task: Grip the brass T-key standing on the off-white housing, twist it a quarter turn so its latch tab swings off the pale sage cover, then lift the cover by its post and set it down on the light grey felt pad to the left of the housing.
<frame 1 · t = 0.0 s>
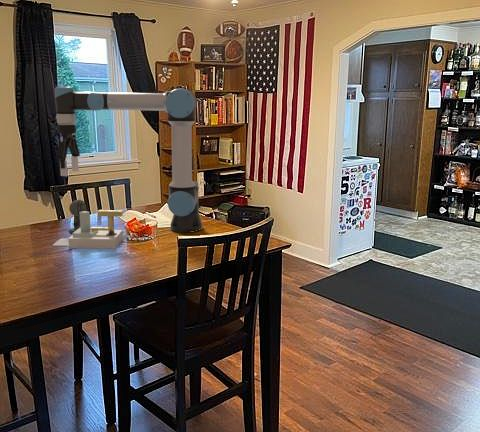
hand: (70, 173, 206), 28 cm above the table, fingers open, 13 cm apart
key: (106, 222, 199), point 9 cm above the table, hinge at 0.0°
pad: (65, 242, 202), on the table
housing: (96, 243, 202), on the table
cover: (85, 233, 201), point 4 cm above the table, touching housing
figurine: (78, 231, 218), on the table
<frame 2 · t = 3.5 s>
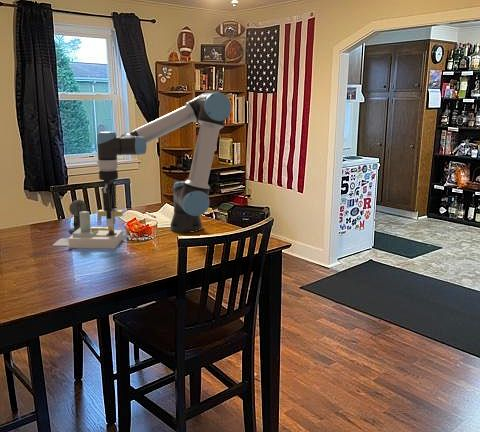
hand: (111, 224, 200), 8 cm above the table, fingers closed on key, 2 cm apart
key: (106, 222, 199), point 9 cm above the table, hinge at 0.0°, touching gripper
everything else where it was.
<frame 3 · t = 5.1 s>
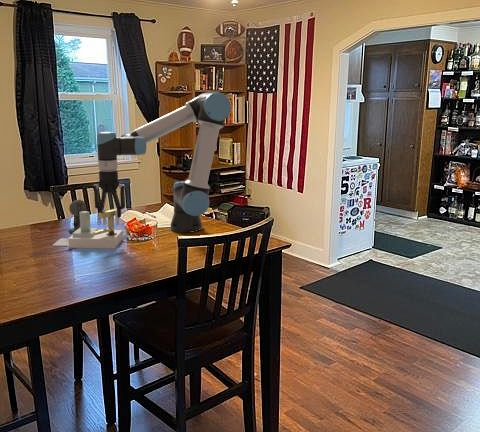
hand: (111, 224, 200), 8 cm above the table, fingers closed on key, 5 cm apart
key: (107, 223, 198), point 9 cm above the table, hinge at 54.7°, touching gripper
everything else where it was.
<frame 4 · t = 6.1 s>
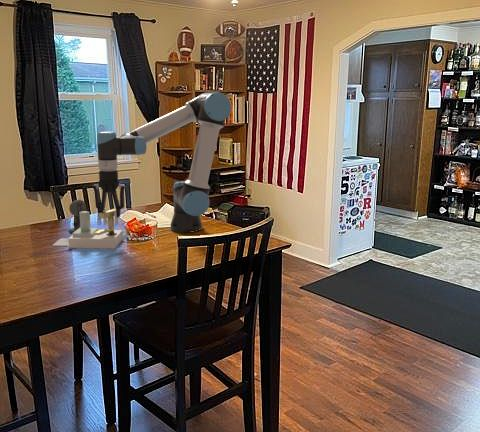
hand: (111, 224, 200), 8 cm above the table, fingers closed on key, 4 cm apart
key: (108, 223, 198), point 9 cm above the table, hinge at 61.7°, touching gripper
everything else where it was.
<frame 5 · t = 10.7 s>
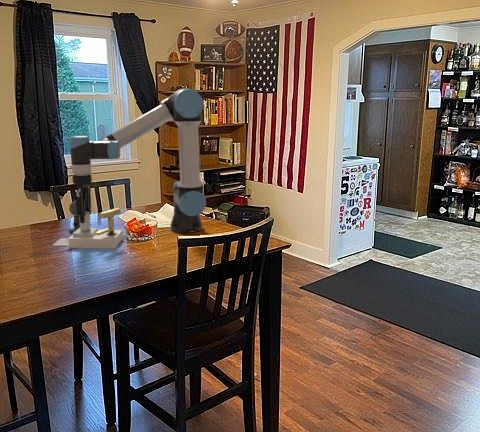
hand: (85, 228, 200), 6 cm above the table, fingers closed on cover, 4 cm apart
key: (108, 223, 198), point 9 cm above the table, hinge at 63.5°
cover: (85, 233, 201), point 4 cm above the table, touching gripper, housing
everything else where it was.
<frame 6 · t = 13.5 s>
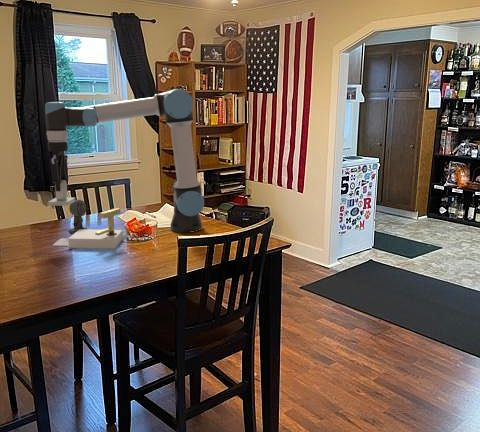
hand: (61, 197, 197), 20 cm above the table, fingers closed on cover, 4 cm apart
cover: (62, 203, 198), point 17 cm above the table, touching gripper
everything else where it was.
when the fingers open (4 cm above the table, at t = 16.4 s): cover stays where it is, resting on pad.
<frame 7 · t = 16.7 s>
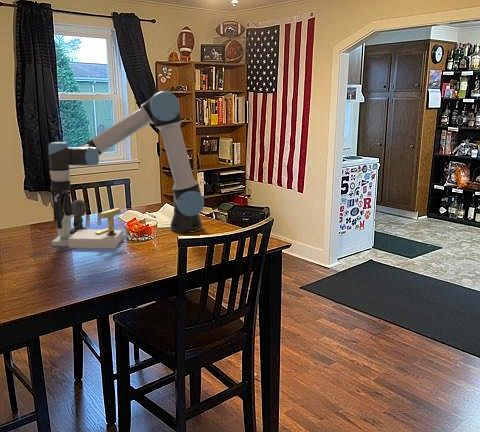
hand: (64, 232, 201), 4 cm above the table, fingers open, 7 cm apart
cover: (65, 241, 202), resting on pad
everything else where it was.
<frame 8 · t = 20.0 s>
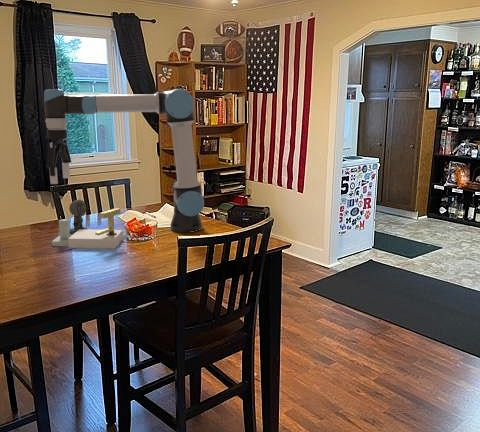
hand: (60, 181, 195), 27 cm above the table, fingers open, 13 cm apart
nothing on the table moved.
at the end: key at +64° (first picture: +0°); cover inside the target area (0.0 cm from its centre), resting on pad; cover tilted 0° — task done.
